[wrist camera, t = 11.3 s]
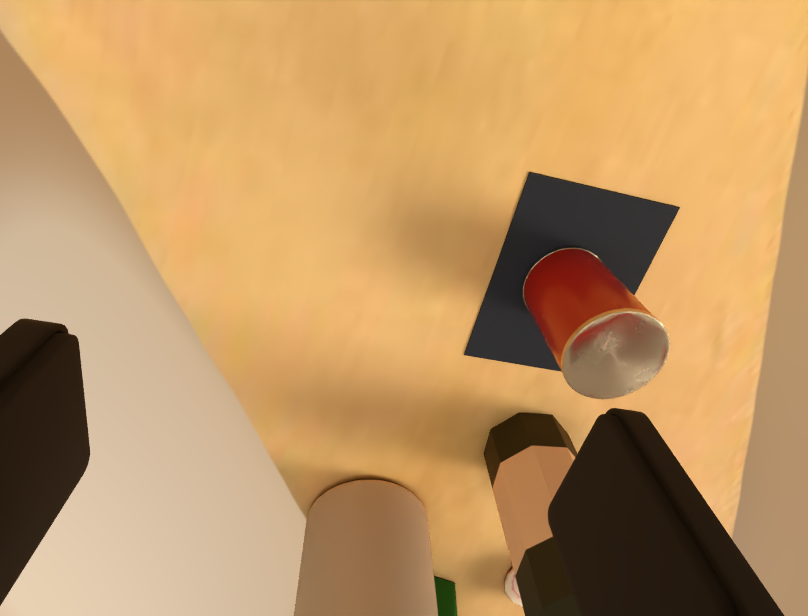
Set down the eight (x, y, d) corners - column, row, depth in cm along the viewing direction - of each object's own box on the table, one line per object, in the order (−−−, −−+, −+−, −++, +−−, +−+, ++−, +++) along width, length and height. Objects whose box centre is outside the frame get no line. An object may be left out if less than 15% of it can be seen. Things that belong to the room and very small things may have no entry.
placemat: (529, 172, 35) (529, 172, 35) (679, 207, 37) (679, 207, 37) (464, 354, 43) (464, 355, 43) (591, 375, 45) (591, 376, 45)
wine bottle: (475, 423, 47) (603, 920, 21) (563, 402, 46) (808, 889, 20) (490, 481, 51) (613, 959, 25) (572, 463, 50) (785, 934, 24)
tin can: (539, 237, 38) (588, 302, 29) (619, 255, 39) (689, 322, 30) (510, 312, 41) (546, 390, 32) (584, 326, 42) (639, 405, 33)
